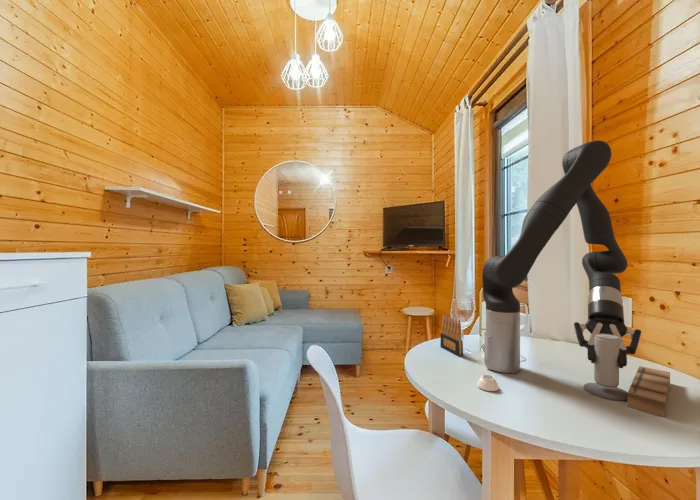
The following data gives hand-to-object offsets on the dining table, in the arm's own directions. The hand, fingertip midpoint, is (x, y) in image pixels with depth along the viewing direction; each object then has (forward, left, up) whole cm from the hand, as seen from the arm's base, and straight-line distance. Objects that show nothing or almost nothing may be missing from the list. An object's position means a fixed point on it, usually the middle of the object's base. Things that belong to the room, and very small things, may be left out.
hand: (606, 363), depth 77 cm
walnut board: (+10, +3, -8) cm, 13 cm away
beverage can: (+1, +2, -6) cm, 6 cm away
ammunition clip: (-35, +24, -8) cm, 43 cm away
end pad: (0, +1, -7) cm, 8 cm away
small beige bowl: (-27, -3, -8) cm, 29 cm away
